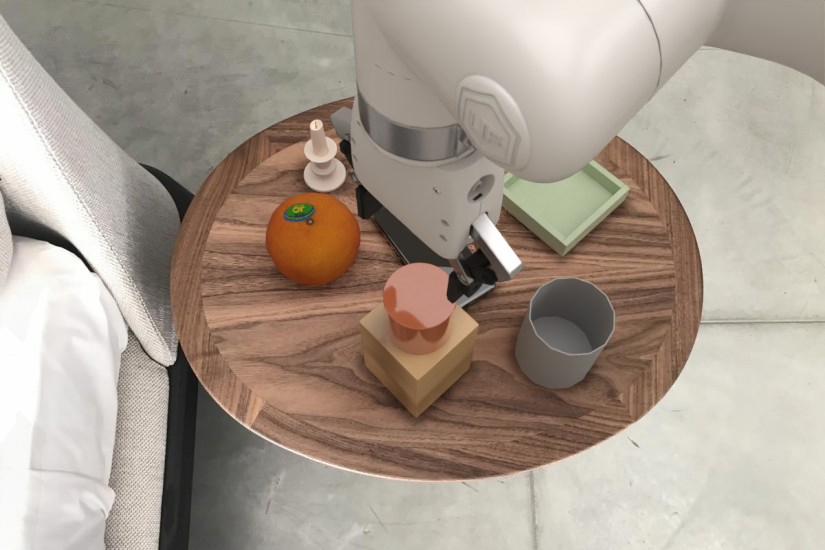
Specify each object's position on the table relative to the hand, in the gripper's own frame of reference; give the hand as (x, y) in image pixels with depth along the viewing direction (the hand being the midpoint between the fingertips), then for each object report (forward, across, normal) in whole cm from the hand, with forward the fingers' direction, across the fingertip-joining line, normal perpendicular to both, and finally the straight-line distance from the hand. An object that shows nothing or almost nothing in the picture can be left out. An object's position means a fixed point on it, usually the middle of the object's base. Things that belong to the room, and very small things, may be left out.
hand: (418, 247), depth 55 cm
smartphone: (+26, +8, -11) cm, 30 cm away
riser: (+26, -1, 0) cm, 26 cm away
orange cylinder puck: (+14, 0, 0) cm, 14 cm away
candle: (+26, +25, -9) cm, 38 cm away
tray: (+26, +3, -28) cm, 38 cm away
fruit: (+26, +17, -1) cm, 32 cm away
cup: (+26, -10, -12) cm, 30 cm away
